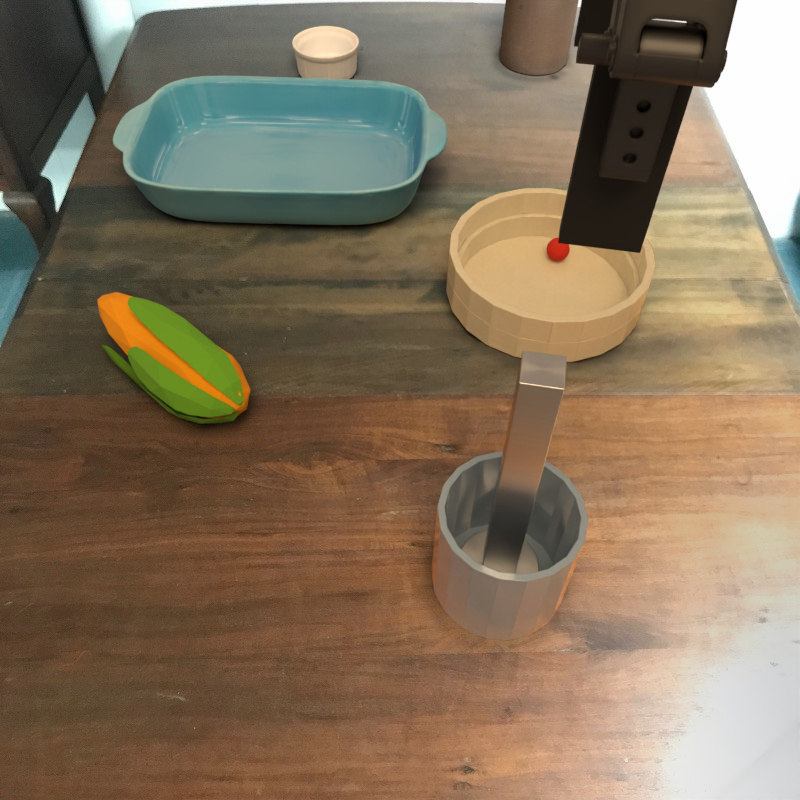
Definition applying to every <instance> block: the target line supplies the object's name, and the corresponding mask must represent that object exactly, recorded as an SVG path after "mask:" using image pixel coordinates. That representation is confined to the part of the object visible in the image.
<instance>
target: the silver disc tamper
mask: <svg viewBox="0 0 800 800" xmlns="http://www.w3.org/2000/svg"><path fill="white" fill-rule="evenodd" d="M519 362H520V363H519V365H518V366H519V367H518V372H517V377H516V382H515V387H514V393H513V398H512V403H511V407H510V408H511V409H510V414H509V419H508V424H507V429H506V432H505V433H506V434H505V438H504V444H503V448H502V451H503V454H502V459H501V464H500V469H499V474H498V480H497V485H496V490H495V495H494V500H493V505H492V510H491V516H490V521H489V526H488V529H487V530H483V531H480V532H478V533H476V534H474V535H473V536H471V537H470V538H469V539H468V540H467V541H466V542H465V543H464V545H463V547H462V548H461V550H463V551H464V552H465V553H466V554H467V555H468V556H470V557H471V558H472V559H473V560H474V561H475V562H476V563H479V564H481V565H483V566H486V567H488V568H491V569H493V570H495V571H498V572H501V573H512V574H524V575H526V574H530V573H534V572H538V571H539V564H538V559H537V556H536V554H535V552H534V550H533V548H532V547H531V546H530V544H529V543H528V542H527V541H526V540H525V535H526V531H527V528H528V524H529V520H530V516H531V513H532V509H533V505H534V502H535V498H536V494H537V491H538V487H539V483H540V480H541V476H542V472H543V468H544V465H545V461H547V457H548V454H549V450H550V446H551V443H552V438H553V435H554V432H555V431H554V430H555V427H556V424H557V420H558V417H559V412H560V409H561V405H562V402H563V398H564V394H565V391H566V378H567V364H568V362H567V357H566V356H559V355H552V354H545V353H537V352H530V351H523V352H522V356H521V358H520V361H519Z"/></svg>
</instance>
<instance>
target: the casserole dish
mask: <svg viewBox="0 0 800 800" xmlns="http://www.w3.org/2000/svg"><path fill="white" fill-rule="evenodd" d="M447 142H448V127H447V124H446V121H445V120H444V118H443V117H442V116H441V115H439V114H438V113H437V112H436V111H434V110H433V109H431V108H430V107H429V103H428V101H427V99H426V98H425V97H424V95H423V94H421V92H419V91H418V90H416V89H414V88H412V87H410V86H407V85H403V84H400V83H395V82H391V81H384V80H383V81H382V80H371V79H352V78H350V79H324V78H302V77H291V76H290V77H289V76H261V75H200V76H192V77H184V78H182V79H178V80H177V79H176V80H174V81H171V82H168V83H167V84H165V85H163V86H162V87H161V86H160V88H159V89H157V90H156V91H155V92H154V93H153V94H152V95H151V96H150V97H149V98H148V99H147V100H146V101H144V102H142V103H140V104H138V105H137V106H135V107H133V108H131V109H130V110H129V111H127V112H126V113H125V114H124V115H123V116H122V118H121V119H120V121H119V122H118V124H117V125H116V128H115V131H114V132H113V137H112V144H113V146H114V148H116V150H117V151H118V152H120V153H122V165H123V166H122V167H123V169H124V171H125V173H126V175H127V176H128V177H129V179H131V181H132V182H133V184H135V186H136V187H137V189H138V190H139V192H141V193H142V194H143V196H144V197H145V198H146V200H148V201H149V202H150V203H151V204H152V205H153V206H154V207H155V208H156V209H158V210H159V211H161V212H163V213H165V214H167V215H170V216H173V217H175V218H179V219H183V220H184V219H185V220H190V221H199V222H210V223H211V222H212V223H230V224H231V223H233V224H235V223H236V224H263V225H264V224H265V225H274V224H275V225H277V224H278V225H307V226H308V225H312V226H313V225H315V226H316V225H317V226H318V225H319V226H321V225H322V226H359V225H362V226H363V225H371V224H378V223H381V222H385V221H389V220H390V219H393V218H395V217H397V216H398V215H400V214H402V213H403V212H404V211H405V210H406V209H407V208H408V206H409V205H410V204H411V202H412V201H413V200H414V197H415V195H416V193H417V190H418V188H419V185H420V182H421V180H422V177H423V174H424V171H425V168H426V166H427V164H429V162H431V161H432V160H434V159H436V158H437V157H439V156H440V155H441V154H442V153H443V152H444V150H445V148H446V146H447V144H448V143H447Z"/></svg>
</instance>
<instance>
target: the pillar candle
mask: <svg viewBox="0 0 800 800" xmlns="http://www.w3.org/2000/svg"><path fill="white" fill-rule="evenodd" d="M578 5H579V0H505V4H504V11H503V18H502V27H501V35H500V45H499V49H498V58H499V61H500V63H502V65H504V66H505V67H506V68H507V69H509V70H510V71H513V72H516V73H519V74H522V75H523V74H524V75H529V76H544V75H545V76H546V75H552V74H556V73H558V72H560V71H561V70H562V68H564V66H566V64H567V62H568V60H569V54H570V49H571V43H572V38H573V33H574V28H575V23H576V17H577V11H578Z"/></svg>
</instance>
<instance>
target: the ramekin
mask: <svg viewBox="0 0 800 800" xmlns="http://www.w3.org/2000/svg"><path fill="white" fill-rule="evenodd" d="M291 46H292V49H293V50H294V55H295V60H296V68H297V71H298V74H299V75H300V78H324V79H352V78H353V77H354V76H355V74H356V72H357V66H358V50H359V46H360V39H359V37H358V36H357V34H356V33H354V32H353V31H351V30H349V29H347V28H343V27H340V26H334V25H318V26H313V27H309V28H306V29H303V30H301V31H300V32H299V33H297V34H296V35H295V36H294V37H293V38H292V45H291Z"/></svg>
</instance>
